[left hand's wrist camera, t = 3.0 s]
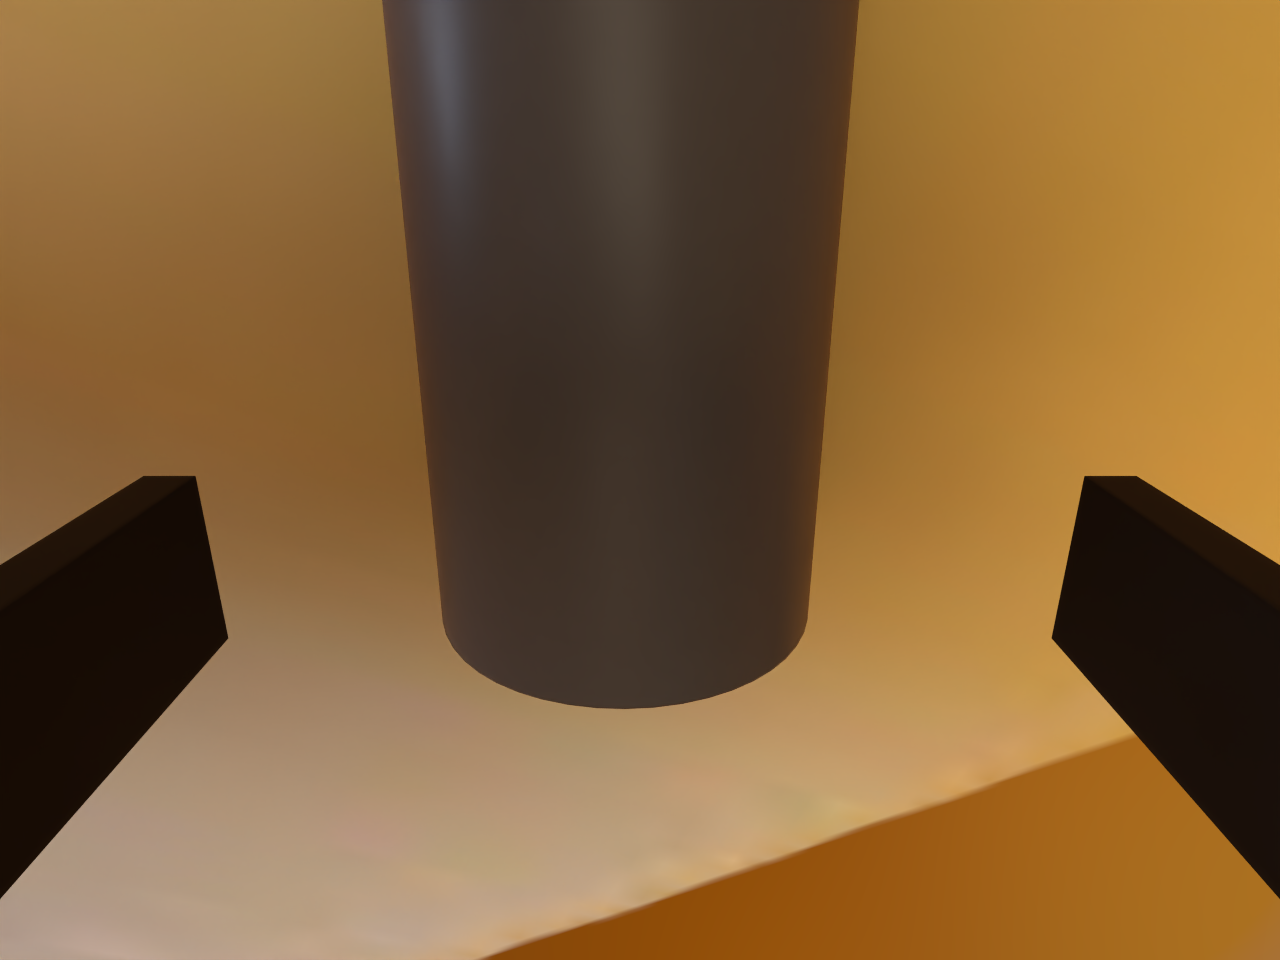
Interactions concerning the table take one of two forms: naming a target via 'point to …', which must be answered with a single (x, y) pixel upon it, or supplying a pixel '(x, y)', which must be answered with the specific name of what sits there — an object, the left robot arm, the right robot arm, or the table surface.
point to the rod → (622, 327)
